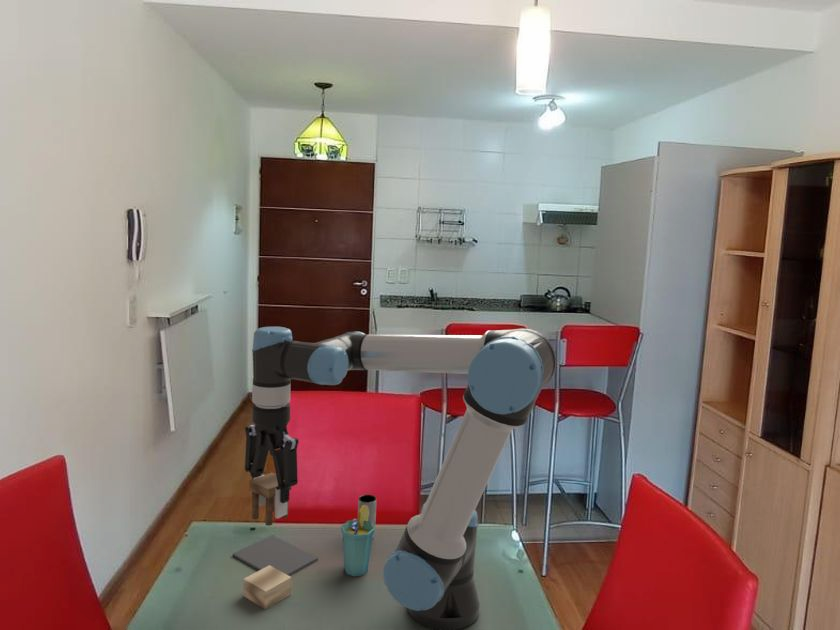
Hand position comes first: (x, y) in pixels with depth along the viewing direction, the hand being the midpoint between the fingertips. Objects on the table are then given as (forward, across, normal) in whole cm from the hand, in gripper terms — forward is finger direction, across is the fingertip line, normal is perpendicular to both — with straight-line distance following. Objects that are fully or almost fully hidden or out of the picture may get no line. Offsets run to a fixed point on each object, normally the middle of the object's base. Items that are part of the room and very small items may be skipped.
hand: (270, 510), depth 134 cm
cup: (+20, -8, -19) cm, 28 cm away
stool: (+1, 0, 0) cm, 1 cm away
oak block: (+19, 0, 0) cm, 19 cm away
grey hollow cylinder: (+19, +1, -33) cm, 38 cm away
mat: (+19, +10, -11) cm, 24 cm away
